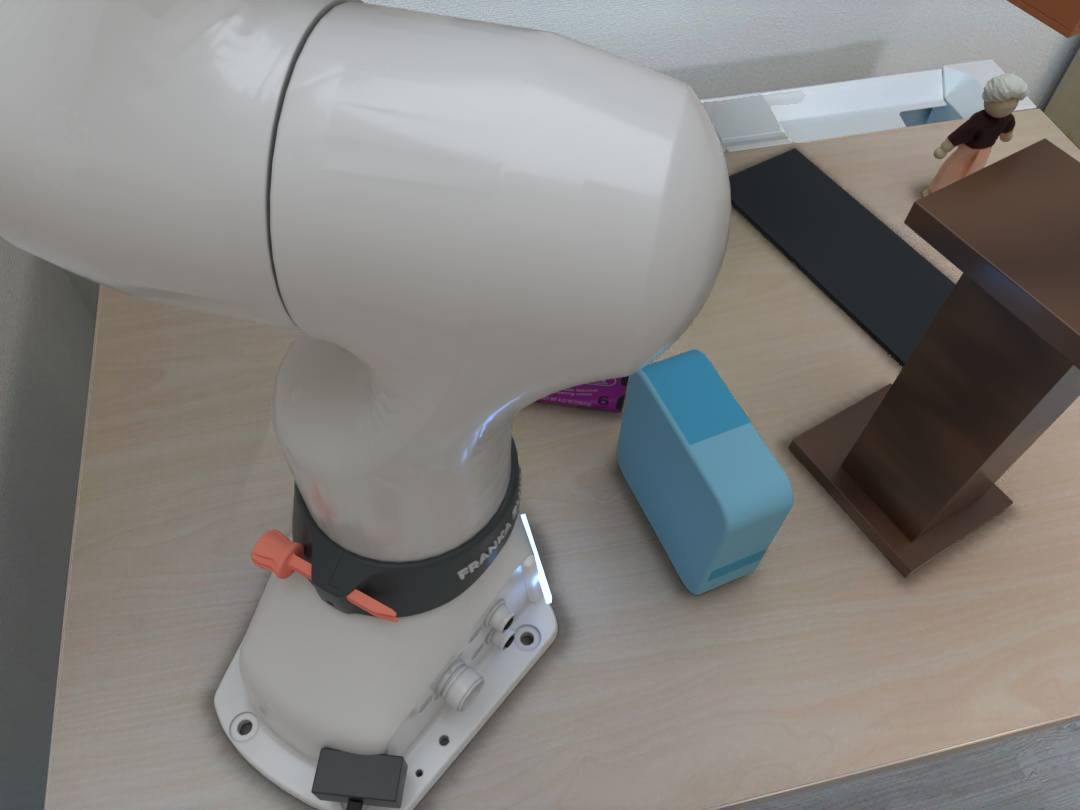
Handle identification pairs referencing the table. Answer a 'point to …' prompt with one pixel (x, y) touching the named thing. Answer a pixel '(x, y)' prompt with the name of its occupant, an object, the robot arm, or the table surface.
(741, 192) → the mat
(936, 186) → the grandmother figurine
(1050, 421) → the stand
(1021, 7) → the terracotta beam
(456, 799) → the table surface
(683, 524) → the blue rounded case
